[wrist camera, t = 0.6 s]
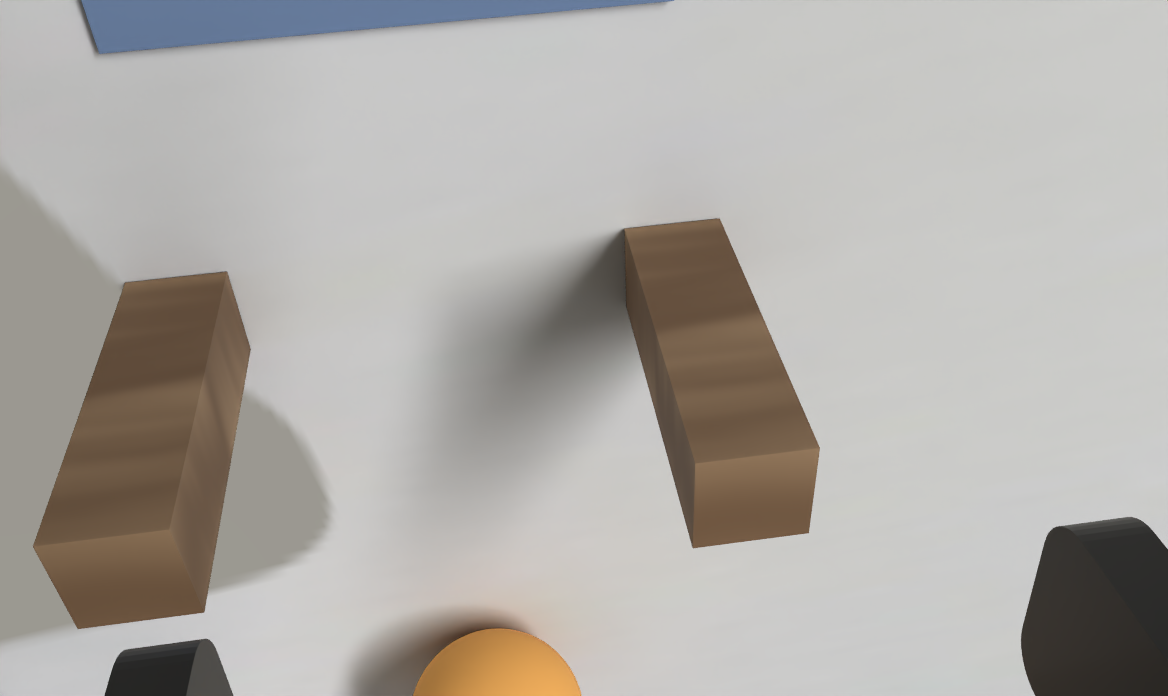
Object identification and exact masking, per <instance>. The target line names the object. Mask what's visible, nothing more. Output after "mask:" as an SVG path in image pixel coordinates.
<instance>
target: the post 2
mask: <svg viewBox="0 0 1168 696" xmlns="http://www.w3.org/2000/svg"><path fill="white" fill-rule="evenodd" d="M625 271H626V307H627V311H628V315H629V318H630V322H631V325H632V329H633V333H634V336H635V340H636V344H637V347H638V351H639V355H640V358H641V362H642V365H643V369H644V373H645V376H646V380H647V384H648V387H649V391H650V395H651V398H652V402H653V405H654V409H655V413H656V416H657V420H658V424H659V427H660V431H661V435H662V438H663V442H664V445H665V449H666V453H667V456H668V460H669V464H670V467H671V471H672V475H673V478H674V482H675V485H676V489H677V493H678V496H679V500H680V504H681V507H682V511H683V515H684V518H685V522H686V525H687V529H688V533H689V536H690V540H691V544H692V547H693V548H698V547H706V546H714V545H721V544H729V543H737V542H744V541H752V540H759V539H767V538H775V537H782V536H790V535H797V534H805V533H809V527H810V519H811V512H812V504H813V496H814V489H815V481H816V473H817V466H818V458H819V450H820V447H819V445H818V443H817V440H816V438H815V436H814V434H813V431H812V429H811V427H810V424H809V422H808V420H807V418H806V415H805V413H804V411H803V408H802V406H801V404H800V401H799V399H798V397H797V395H796V392H795V390H794V388H793V385H792V383H791V381H790V379H789V376H788V374H787V372H786V369H785V367H784V365H783V363H782V360H781V358H780V356H779V353H778V351H777V349H776V347H775V344H774V342H773V340H772V337H771V335H770V333H769V330H768V328H767V326H766V324H765V321H764V319H763V317H762V314H761V312H760V310H759V308H758V305H757V303H756V301H755V298H754V296H753V294H752V292H751V289H750V287H749V285H748V282H747V280H746V278H745V276H744V273H743V271H742V269H741V266H740V264H739V262H738V259H737V257H736V255H735V253H734V250H733V248H732V246H731V243H730V241H729V239H728V237H727V234H726V232H725V230H724V227H723V225H722V223H721V221H720V219H711V220H701V221H692V222H683V223H674V224H664V225H655V226H646V227H637V228H627V229H625Z"/></svg>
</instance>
